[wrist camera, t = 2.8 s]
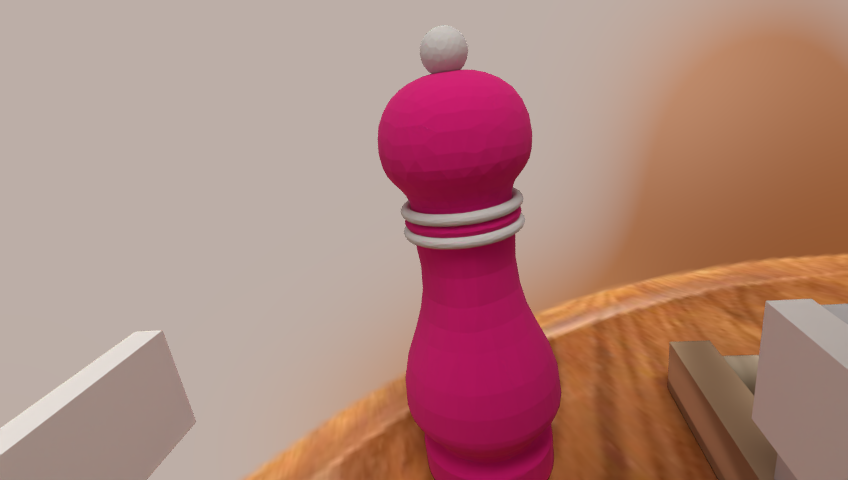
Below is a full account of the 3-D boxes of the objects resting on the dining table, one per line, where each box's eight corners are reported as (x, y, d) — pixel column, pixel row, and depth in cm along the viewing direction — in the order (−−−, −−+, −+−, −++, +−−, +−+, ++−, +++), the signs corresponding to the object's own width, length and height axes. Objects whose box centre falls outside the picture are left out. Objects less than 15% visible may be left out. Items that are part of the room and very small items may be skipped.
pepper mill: (597, 464, 22) (589, -2, 15) (475, 553, 18) (399, 10, 12) (499, 390, 28) (463, 34, 21) (395, 446, 24) (315, 48, 18)
